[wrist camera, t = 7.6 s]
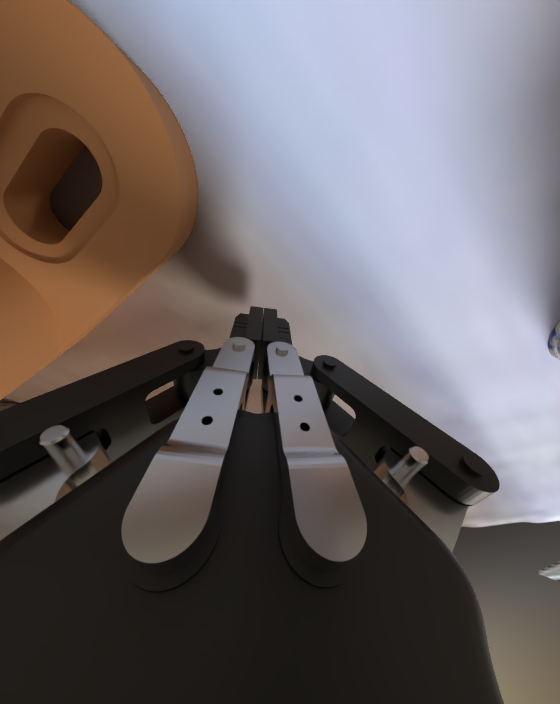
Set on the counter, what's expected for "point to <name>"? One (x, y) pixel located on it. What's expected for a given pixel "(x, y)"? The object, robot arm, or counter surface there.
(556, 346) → the aerosol can
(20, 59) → the bracket
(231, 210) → the counter surface
